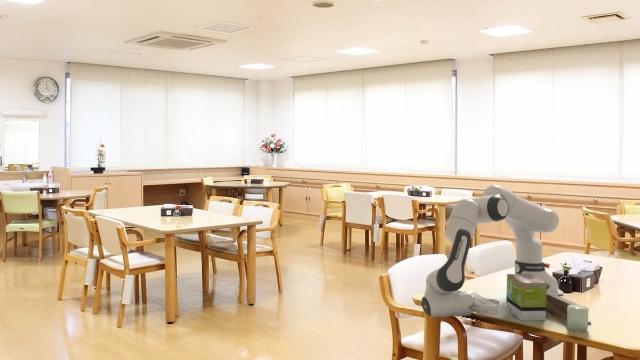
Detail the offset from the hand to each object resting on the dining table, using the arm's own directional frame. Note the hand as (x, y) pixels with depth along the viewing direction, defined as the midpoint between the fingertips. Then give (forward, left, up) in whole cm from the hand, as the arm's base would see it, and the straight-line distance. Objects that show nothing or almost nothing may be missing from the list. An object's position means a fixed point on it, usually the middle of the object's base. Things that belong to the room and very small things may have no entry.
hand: (496, 302), depth 224 cm
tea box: (-12, 0, -6) cm, 13 cm away
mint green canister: (-21, +19, -5) cm, 29 cm away
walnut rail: (-27, +3, -5) cm, 27 cm away
